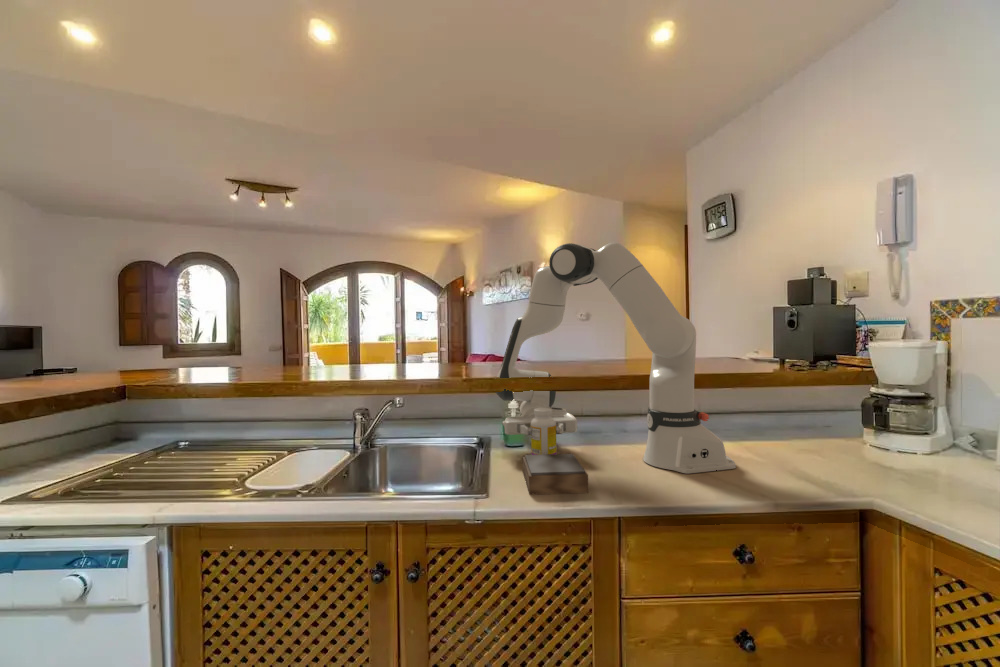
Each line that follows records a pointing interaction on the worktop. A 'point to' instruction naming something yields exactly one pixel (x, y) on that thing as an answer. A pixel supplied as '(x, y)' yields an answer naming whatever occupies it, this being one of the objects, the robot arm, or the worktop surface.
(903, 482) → the worktop surface
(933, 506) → the worktop surface
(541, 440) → the supplement bottle
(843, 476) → the worktop surface
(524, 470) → the block
